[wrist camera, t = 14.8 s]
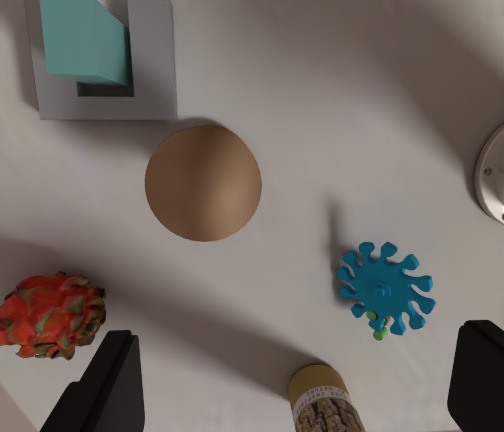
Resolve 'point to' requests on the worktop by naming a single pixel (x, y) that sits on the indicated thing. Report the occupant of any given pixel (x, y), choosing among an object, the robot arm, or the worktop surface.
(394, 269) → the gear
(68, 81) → the notched board
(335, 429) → the paper tube
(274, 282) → the worktop surface
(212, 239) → the door knob
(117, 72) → the teal tab
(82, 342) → the dragon fruit
